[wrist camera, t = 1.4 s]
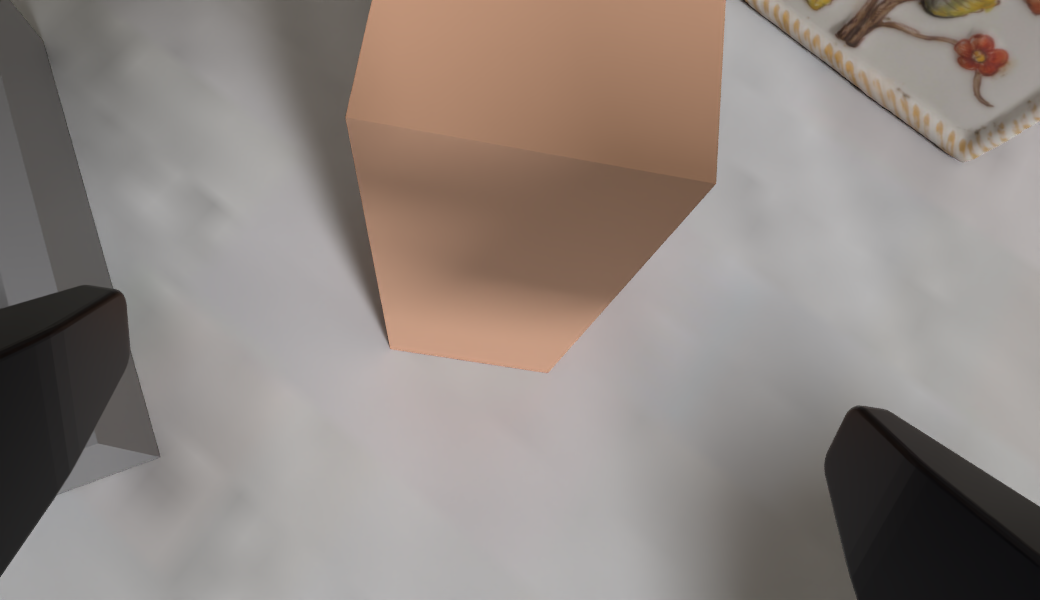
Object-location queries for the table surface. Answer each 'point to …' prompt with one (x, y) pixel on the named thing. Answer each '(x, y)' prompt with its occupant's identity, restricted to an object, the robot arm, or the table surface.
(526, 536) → the table surface
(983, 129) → the decorative jar
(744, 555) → the table surface
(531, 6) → the terracotta block
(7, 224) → the box
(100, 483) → the table surface
